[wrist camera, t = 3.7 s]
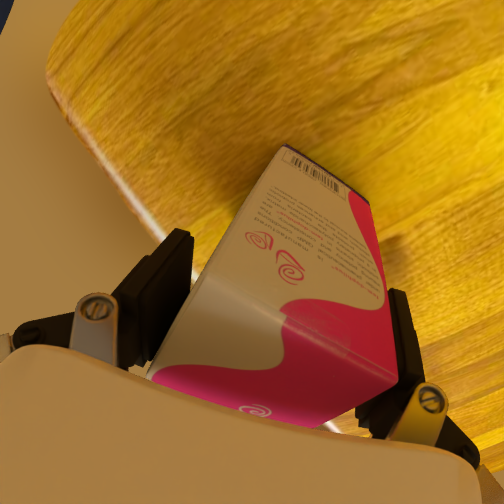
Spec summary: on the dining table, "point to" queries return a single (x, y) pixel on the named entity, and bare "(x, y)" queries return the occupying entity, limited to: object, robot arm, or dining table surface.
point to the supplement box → (287, 304)
